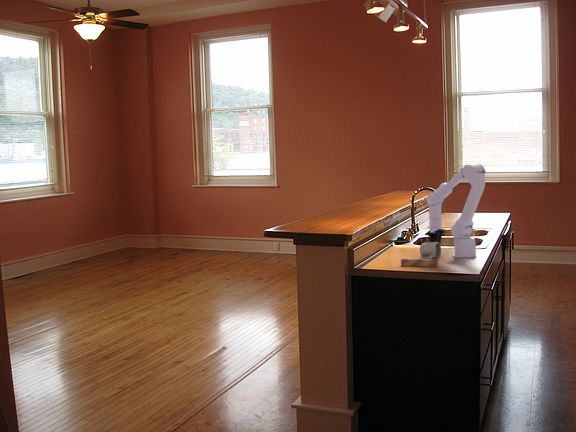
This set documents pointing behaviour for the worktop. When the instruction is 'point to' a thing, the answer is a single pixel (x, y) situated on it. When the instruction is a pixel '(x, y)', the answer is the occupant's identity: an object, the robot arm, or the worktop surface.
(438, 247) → the ceramic mug
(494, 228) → the worktop surface
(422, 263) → the rail
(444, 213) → the worktop surface
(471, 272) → the worktop surface
